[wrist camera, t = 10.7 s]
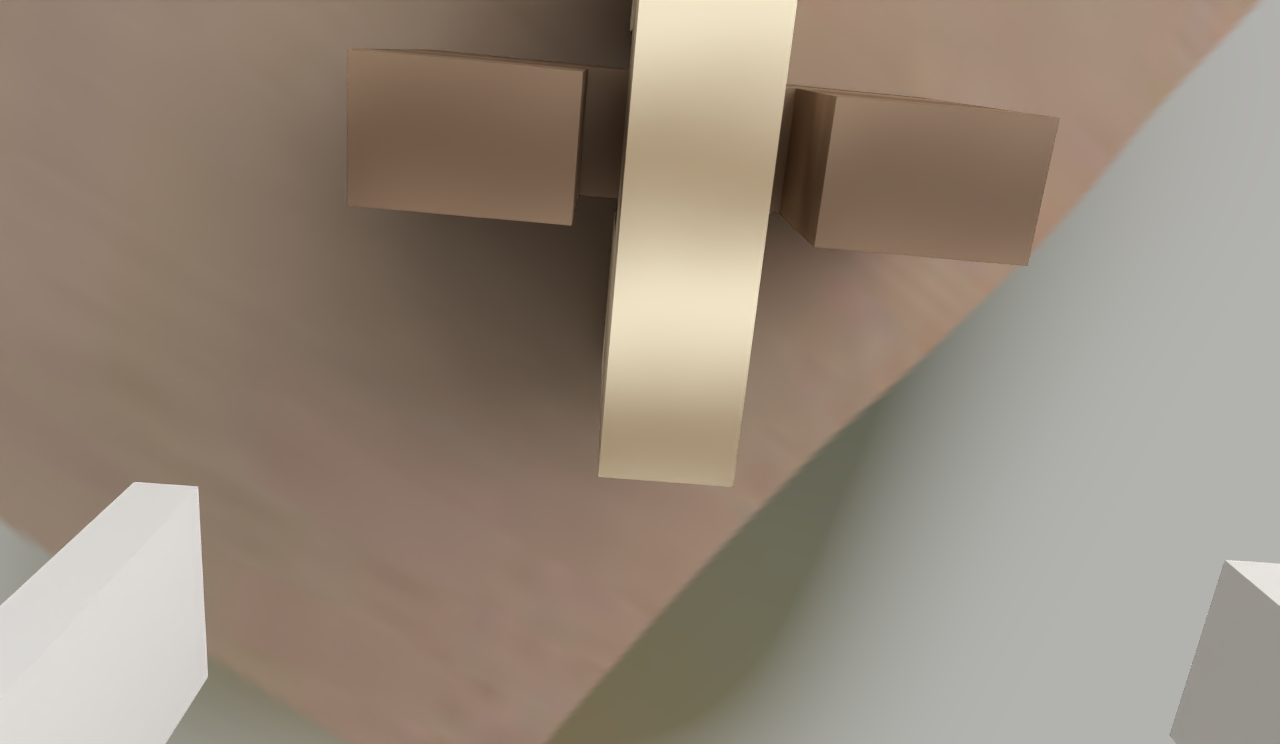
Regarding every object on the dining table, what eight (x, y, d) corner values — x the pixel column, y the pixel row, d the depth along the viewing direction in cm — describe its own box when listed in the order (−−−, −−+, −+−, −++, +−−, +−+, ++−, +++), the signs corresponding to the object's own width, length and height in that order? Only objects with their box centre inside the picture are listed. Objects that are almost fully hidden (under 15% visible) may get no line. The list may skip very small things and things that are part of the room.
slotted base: (430, 49, 27) (347, 48, 19) (923, 97, 28) (1059, 118, 20) (427, 159, 28) (347, 205, 20) (905, 202, 29) (1027, 266, 20)
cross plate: (644, -149, 26) (660, -247, 17) (757, -137, 26) (827, -228, 18) (602, 356, 30) (598, 476, 22) (699, 364, 30) (733, 486, 22)
